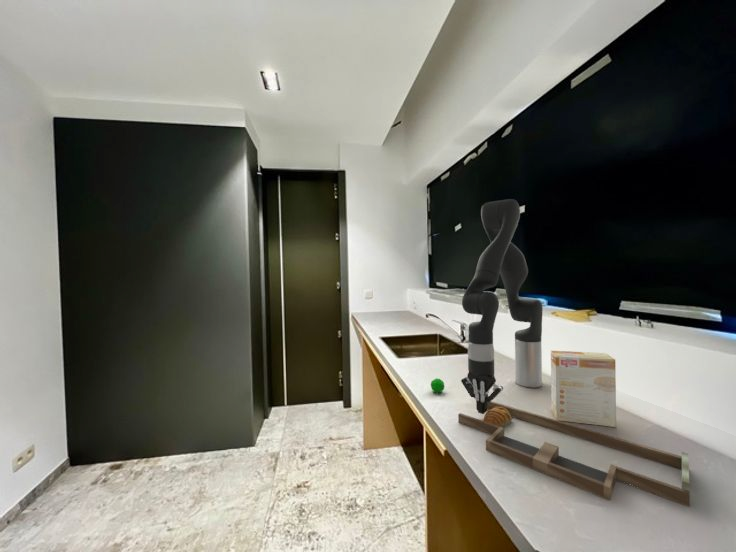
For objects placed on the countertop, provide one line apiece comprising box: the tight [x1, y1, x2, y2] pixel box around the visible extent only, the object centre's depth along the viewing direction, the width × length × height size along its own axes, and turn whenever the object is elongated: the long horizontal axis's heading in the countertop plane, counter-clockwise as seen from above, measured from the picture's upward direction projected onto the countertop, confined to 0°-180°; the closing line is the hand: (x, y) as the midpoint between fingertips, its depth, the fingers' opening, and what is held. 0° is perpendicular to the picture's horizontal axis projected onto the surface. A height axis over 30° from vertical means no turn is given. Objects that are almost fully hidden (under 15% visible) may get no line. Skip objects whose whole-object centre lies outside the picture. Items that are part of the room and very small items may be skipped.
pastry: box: [482, 407, 513, 428], centre depth 92 cm, size 9×7×4 cm
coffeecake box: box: [550, 350, 617, 428], centre depth 93 cm, size 15×7×20 cm, turn 71°
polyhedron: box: [430, 377, 445, 394], centre depth 116 cm, size 5×5×5 cm
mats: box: [498, 435, 608, 483], centre depth 73 cm, size 8×23×1 cm, turn 45°
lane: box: [457, 400, 691, 507], centre depth 78 cm, size 23×48×4 cm, turn 45°
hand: (481, 412), depth 95 cm, fingers closed
